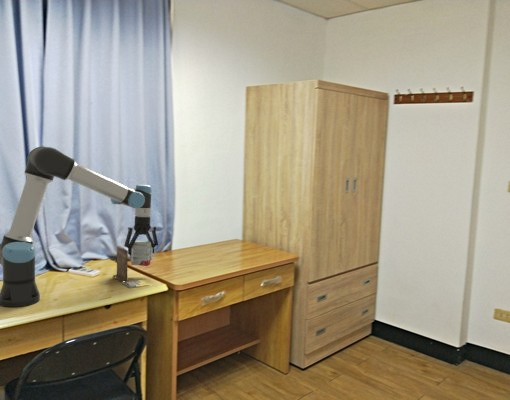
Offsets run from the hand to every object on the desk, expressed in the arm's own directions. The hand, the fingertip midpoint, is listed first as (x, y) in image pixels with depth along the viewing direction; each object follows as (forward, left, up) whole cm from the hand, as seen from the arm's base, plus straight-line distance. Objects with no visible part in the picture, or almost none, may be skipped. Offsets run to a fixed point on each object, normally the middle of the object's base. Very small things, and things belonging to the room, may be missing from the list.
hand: (140, 260), depth 233 cm
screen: (-9, 0, -8) cm, 13 cm away
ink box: (0, 0, -2) cm, 2 cm away
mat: (-6, -12, -8) cm, 16 cm away
